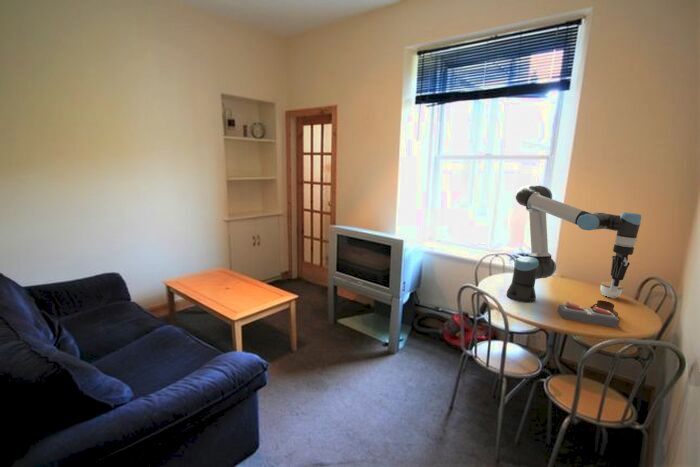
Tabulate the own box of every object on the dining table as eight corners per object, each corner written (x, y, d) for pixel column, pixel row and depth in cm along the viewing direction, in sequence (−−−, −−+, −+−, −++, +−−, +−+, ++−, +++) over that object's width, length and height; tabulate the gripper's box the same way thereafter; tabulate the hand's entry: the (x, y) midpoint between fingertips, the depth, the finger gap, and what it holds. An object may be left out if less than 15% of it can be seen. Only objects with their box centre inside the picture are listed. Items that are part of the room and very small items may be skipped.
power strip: (561, 318, 172) (563, 309, 171) (557, 311, 180) (559, 302, 179) (617, 327, 165) (620, 318, 164) (610, 320, 173) (612, 311, 172)
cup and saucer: (605, 319, 174) (608, 308, 172) (584, 309, 185) (586, 299, 184) (623, 318, 177) (625, 307, 176) (600, 308, 188) (603, 297, 187)
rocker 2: (595, 310, 169) (596, 308, 169) (592, 308, 172) (594, 305, 172) (611, 315, 167) (612, 313, 167) (608, 312, 171) (609, 310, 170)
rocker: (568, 306, 173) (569, 303, 172) (566, 303, 176) (567, 301, 176) (582, 311, 171) (584, 309, 171) (580, 308, 174) (581, 306, 174)
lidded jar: (617, 301, 200) (621, 286, 198) (596, 295, 208) (599, 280, 206) (622, 297, 206) (625, 283, 204) (601, 291, 214) (604, 277, 212)
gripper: (640, 249, 155) (628, 297, 160) (627, 243, 167) (616, 288, 172) (620, 247, 157) (609, 295, 162) (609, 241, 169) (599, 286, 174)
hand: (613, 291), depth 167 cm, fingers closed
